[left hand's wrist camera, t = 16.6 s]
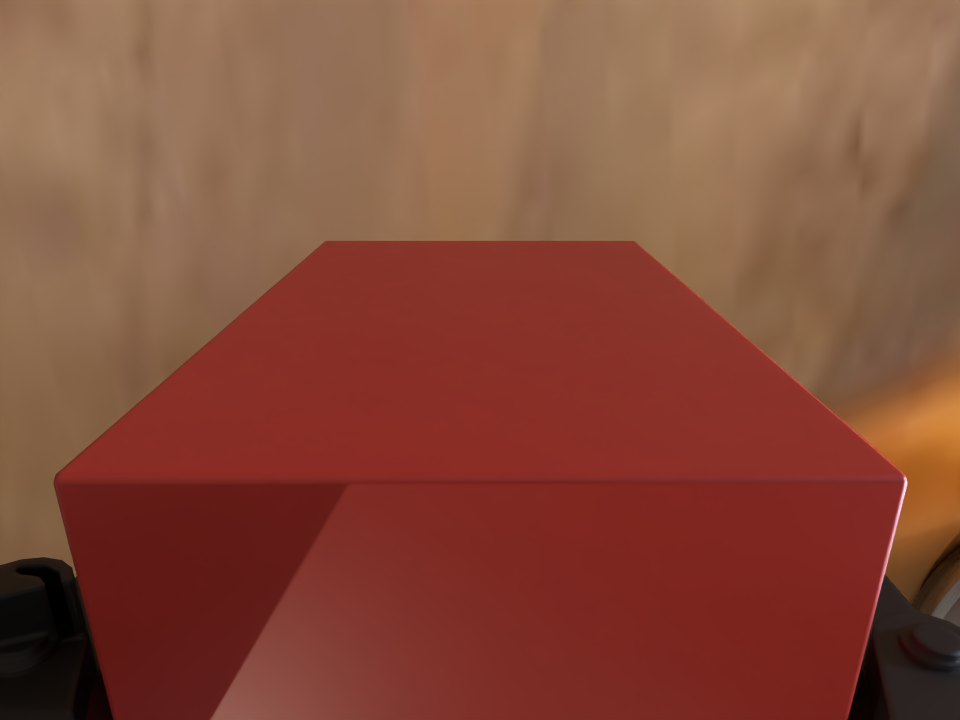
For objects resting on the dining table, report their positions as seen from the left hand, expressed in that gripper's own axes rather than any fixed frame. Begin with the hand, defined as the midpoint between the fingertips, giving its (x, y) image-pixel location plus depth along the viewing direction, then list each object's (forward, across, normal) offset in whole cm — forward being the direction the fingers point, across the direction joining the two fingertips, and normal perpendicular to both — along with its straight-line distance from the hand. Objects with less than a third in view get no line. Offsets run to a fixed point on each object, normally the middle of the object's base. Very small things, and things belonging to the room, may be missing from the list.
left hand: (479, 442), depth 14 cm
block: (+3, 0, 0) cm, 3 cm away
